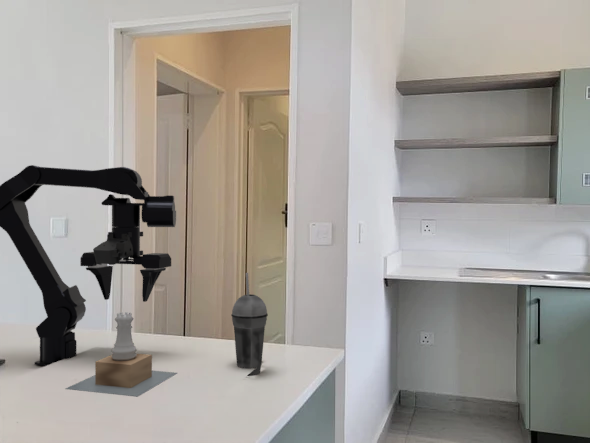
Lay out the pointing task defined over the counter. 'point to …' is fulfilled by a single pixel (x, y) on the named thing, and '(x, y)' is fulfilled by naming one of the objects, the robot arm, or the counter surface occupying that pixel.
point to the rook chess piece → (124, 339)
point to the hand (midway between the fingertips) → (125, 300)
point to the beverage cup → (249, 330)
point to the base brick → (123, 371)
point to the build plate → (134, 391)
